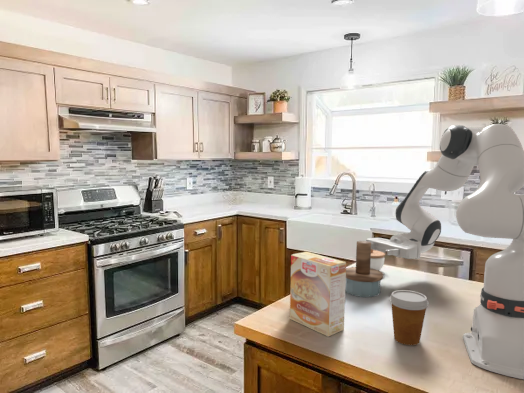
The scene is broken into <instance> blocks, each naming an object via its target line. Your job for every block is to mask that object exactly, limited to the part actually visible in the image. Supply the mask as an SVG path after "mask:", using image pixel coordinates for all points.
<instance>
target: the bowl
mask: <svg viewBox="0 0 524 393" xmlns="http://www.w3.org/2000/svg"><path fill="white" fill-rule="evenodd" d="M381 281H382V280H380V281H377V282H359V281H354V280H350V279H347V278H346V283H345V293H347V294H349V295H351V296H356V297H361V298H364V297H365V298H366V297H367V298H372V297H376V296H379V295H380V294H381Z"/></svg>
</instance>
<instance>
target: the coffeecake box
mask: <svg viewBox="0 0 524 393" xmlns="http://www.w3.org/2000/svg"><path fill="white" fill-rule="evenodd" d="M346 268H347V262H346V261H343V260H339V259H337V258H333V257H328V256H324V255H321V254H318V253H313V252H310V251H303V252H302V251H301V252H298V253H293V254H291V255H290V291H289V292H290V294H289V296H290V297H289V298H290V299H289V300H290V301H289V305H290V306H289V320H291V321H293V322H296V323H298V324H300V325H302V326H305V327H307V328H309V329H311V330H313V331H315V332H317V333H318V334H322V335H323V336H326V337H331V336H334V335H335V334H337V333H340V332H343V331H344V330H345V313H346V312H345V310H346V308H345V306H346V291H345V283H346Z"/></svg>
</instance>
